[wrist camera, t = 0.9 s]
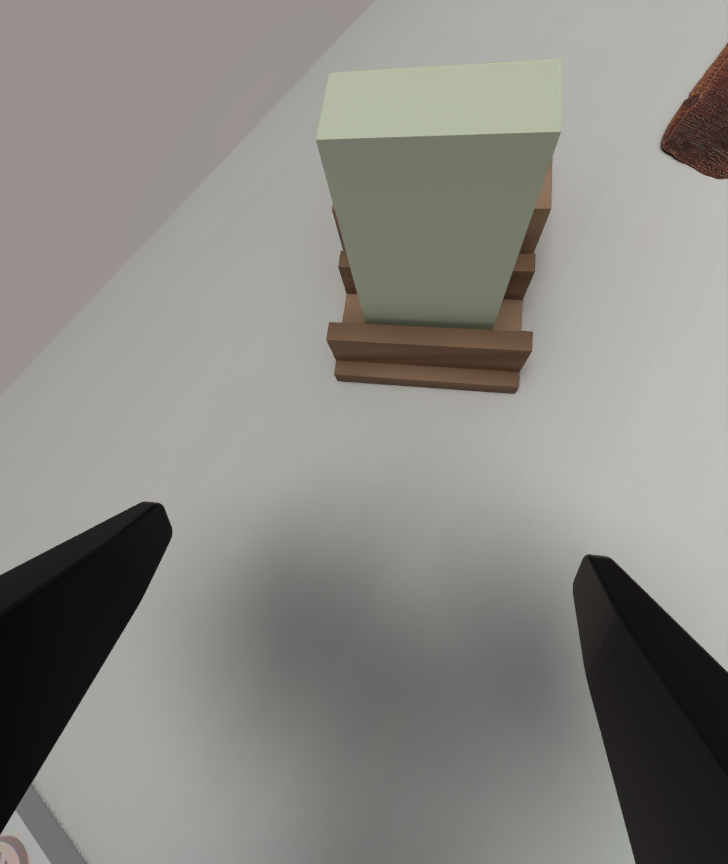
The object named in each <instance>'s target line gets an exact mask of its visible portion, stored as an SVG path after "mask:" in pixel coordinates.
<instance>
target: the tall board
mask: <svg viewBox="0 0 728 864" xmlns="http://www.w3.org/2000/svg"><path fill="white" fill-rule="evenodd" d="M561 98H562V58H561V59H545V60H529V61H513V62H497V63H480V64H464V65H448V66H432V67H416V68H399V69H383V70H367V71H351V72H335V73H329V76H328V81H327V86H326V91H325V96H324V102H323V107H322V112H321V117H320V122H319V127H318V132H317V137H316V142H317V145H318V149H319V153H320V157H321V160H322V164H323V168H324V172H325V175H326V179H327V183H328V186H329V190H330V194H331V198H332V201H333V205H334V209H335V213H336V216H337V220H338V224H339V228H340V231H341V235H342V239H343V242H344V246H345V250H346V254H347V257H348V261H349V265H350V269H351V272H352V276H353V280H354V283H355V287H356V291H357V295H358V298H359V302H360V306H361V310H362V313H363V317H364V321H365V324H378V325H399V326H421V327H442V328H463V329H485V330H493V327H494V324H495V321H496V318H497V315H498V312H499V309H500V307H501V304H502V301H503V298H504V295H505V292H506V289H507V286H508V283H509V280H510V278H511V275H512V272H513V269H514V266H515V263H516V260H517V257H518V254H519V252H520V249H521V246H522V243H523V240H524V237H525V234H526V231H527V228H528V225H529V223H530V220H531V217H532V214H533V211H534V208H535V205H536V202H537V199H538V196H539V194H540V191H541V188H542V185H543V182H544V179H545V176H546V173H547V170H548V168H549V165H550V162H551V159H552V156H553V153H554V150H555V147H556V144H557V141H558V139H559V136H560V133H561Z"/></svg>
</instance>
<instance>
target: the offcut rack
mask: <svg viewBox="0 0 728 864" xmlns="http://www.w3.org/2000/svg"><path fill="white" fill-rule="evenodd" d="M551 193H552V159H551V162H550V165H549V168H548V170H547V173H546V176H545V179H544V182H543V185H542V188H541V191H540V194H539V196H538V199H537V202H536V205H535V208H534V211H533V214H532V217H531V220H530V223H529V225H528V228H527V231H526V234H525V237H524V240H523V243H522V246H521V249H520V252H519V254H518V257H517V260H516V263H515V266H514V269H513V272H512V275H511V278H510V280H509V283H508V286H507V289H506V292H505V295H504V298H503V301H502V304H501V307H500V309H499V312H498V315H497V318H496V321H495V324H494V327H493V330H485V329H463V328H442V327H421V326H399V325H378V324H365V321H364V317H363V313H362V310H361V306H360V302H359V298H358V295H357V291H356V287H355V283H354V280H353V276H352V272H351V269H350V265H349V261H348V257H347V254H346V250H345V246H344V242H343V239H342V235H341V231H340V228H339V224H338V220H337V216H336V213H335V209H334V205H333V206H332V211H333V215H334V218H335V222H336V226H337V229H338V233H339V236H340V240H341V244H342V247H343V251H341V254H340V260H339V266H338V267H339V270H340V274H341V277H342V280H343V283H344V287H345V290H346V293H347V296H346V302H345V309H344V315H343V321H342V323H335V322H329V326H328V333H327V339H326V340H327V342H328V344H329V346H330V348H331V350H332V353H333V355H334V357H335V359H336V366H335V372H334V375H335V377H336V378H337V380H338V381H347V382H361V383H375V384H389V385H403V386H417V387H431V388H445V389H459V390H473V391H487V392H500V393H514V394H515V392H516V391H517V389H518V388H519V372H520V370H521V369H522V367H523V365H524V364H525V362H526V360H527V359H528V357H529V355H530V354H531V352H532V338H533V332H528V331H521V323H522V300H523V297H524V295H525V293H526V291H527V288H528V286H529V284H530V281H531V279H532V277H533V274H534V272H535V254H533V253H534V251H535V248H536V245H537V243H538V240H539V238H540V235H541V233H542V230H543V228H544V225H545V223H546V220H547V218H548V215H549V213H550V210H551Z"/></svg>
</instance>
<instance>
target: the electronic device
mask: <svg viewBox="0 0 728 864" xmlns="http://www.w3.org/2000/svg"><path fill="white" fill-rule="evenodd" d="M0 864H87V863H86V862H85V860H84V859H83V858H82V856H81V855H80V853H79V852H78V850H77V849H76V848H75V846H74V845H73V843H72V842H71V840H70V839H69V837H68V836H67V835H66V833H65V832H64V830H63V829H62V827H61V826H60V825H59V823H58V822H57V820H56V819H55V817H54V816H53V815H52V813H51V812H50V810H49V809H48V807H47V806H46V804H45V803H44V802H43V800H42V799H41V797H40V796H39V794H38V793H37V792H36V790H35V789H34V787H33V786H32V784H31V785H30V787H29V788H28V790H27V792H26V793H25V795H24V797H23V798H22V800H21V802H20V803H19V805H18V807H17V808H16V810H15V812H14V813H13V815H12V817H11V818H10V820H9V822H8V823H7V825H6V826H5V828H4V830H3V831H2V833H1V835H0Z"/></svg>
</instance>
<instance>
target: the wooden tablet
mask: <svg viewBox="0 0 728 864" xmlns="http://www.w3.org/2000/svg"><path fill="white" fill-rule="evenodd" d="M662 148H663V149H664V150H665V151H666V152H668V153H670V154H672V155H673V156H674V157H675V158H677V159H678V160H680V161H682V162H684V163H687V164H689V165H691V166H692V167H694V168H695V169H696V170H697V171H698V172H700V173H701V174H704V175H706V176H710V177H713V178H716V179H728V44H727V45H726V46H725V47H724V49H723V50H722V52H721V53H720V54H719V56H718V57H717V58H716V60H715V61H714V62H713V64H712V65H711V66H710V67H709V68H708V70H707V71H706V73H705V74H704V75H703V77H702V78H701V79H700V80H699V82H698V83H697V84H696V86H695V87H694V88H693V90H692V91H691V92H690V96H689V98H688V99H686V100H685V101H684V102H683V104H682V106H681V107H680V108H679V110H678V111H677V113H676V114H675V116H674V117H673V119H672V120H671V122H670V124H669V125H668V127H667V129H666V131H665V134H664V136H663V139H662Z"/></svg>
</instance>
